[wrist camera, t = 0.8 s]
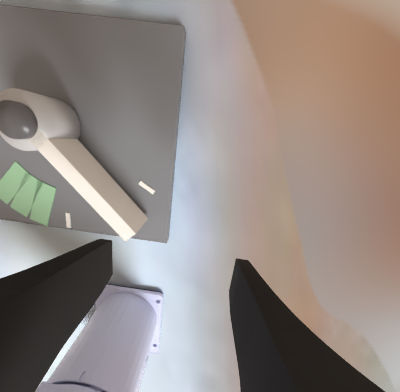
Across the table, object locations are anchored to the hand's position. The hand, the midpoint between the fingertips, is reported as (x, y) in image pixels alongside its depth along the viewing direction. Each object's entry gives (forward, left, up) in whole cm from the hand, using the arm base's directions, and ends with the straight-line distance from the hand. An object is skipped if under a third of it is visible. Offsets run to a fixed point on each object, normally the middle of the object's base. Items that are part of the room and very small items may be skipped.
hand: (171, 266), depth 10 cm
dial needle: (+3, +9, -8) cm, 12 cm away
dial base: (+5, +13, -9) cm, 17 cm away
